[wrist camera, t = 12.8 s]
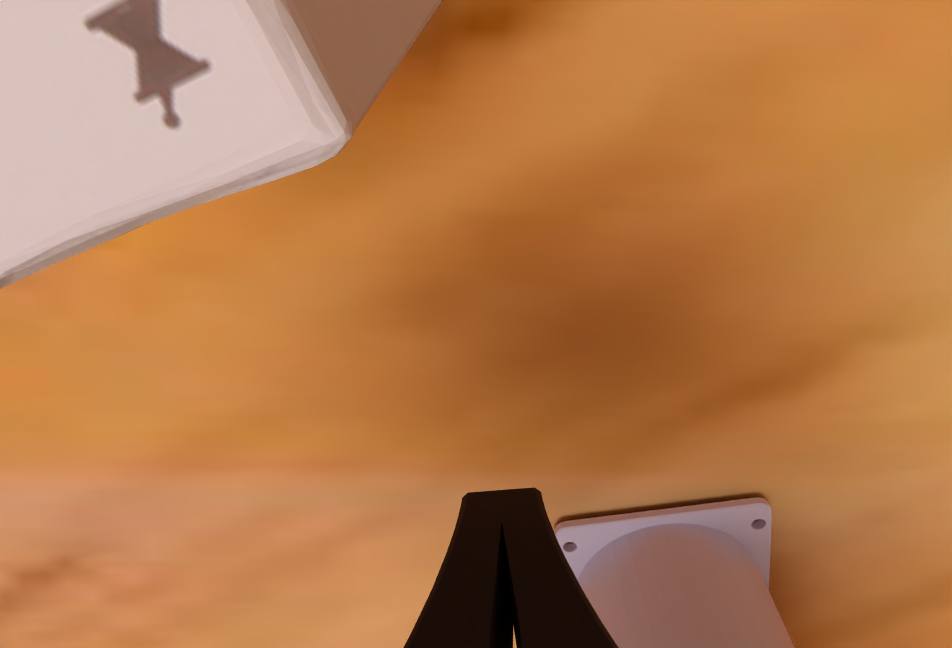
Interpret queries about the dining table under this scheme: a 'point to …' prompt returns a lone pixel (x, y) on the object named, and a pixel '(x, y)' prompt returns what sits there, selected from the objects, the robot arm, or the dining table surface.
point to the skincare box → (174, 106)
